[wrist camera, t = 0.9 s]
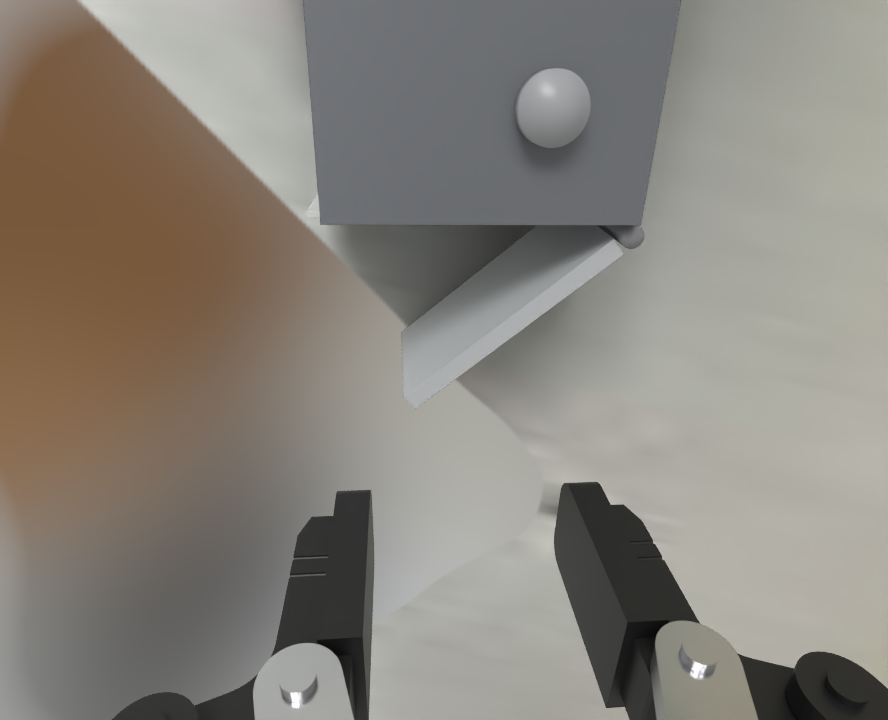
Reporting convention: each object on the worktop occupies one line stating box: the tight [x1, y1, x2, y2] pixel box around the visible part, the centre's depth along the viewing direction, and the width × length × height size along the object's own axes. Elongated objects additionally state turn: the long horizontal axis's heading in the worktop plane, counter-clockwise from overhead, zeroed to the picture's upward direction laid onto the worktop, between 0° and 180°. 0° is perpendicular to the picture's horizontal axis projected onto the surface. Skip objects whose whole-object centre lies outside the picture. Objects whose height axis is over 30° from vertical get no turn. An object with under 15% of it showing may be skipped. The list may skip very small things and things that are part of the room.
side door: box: [401, 225, 644, 409], centre depth 27 cm, size 2×12×7 cm, turn 129°
